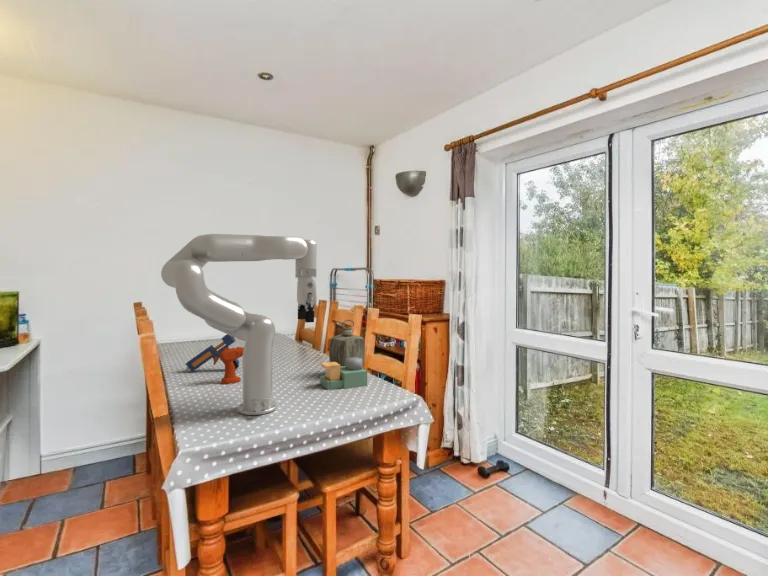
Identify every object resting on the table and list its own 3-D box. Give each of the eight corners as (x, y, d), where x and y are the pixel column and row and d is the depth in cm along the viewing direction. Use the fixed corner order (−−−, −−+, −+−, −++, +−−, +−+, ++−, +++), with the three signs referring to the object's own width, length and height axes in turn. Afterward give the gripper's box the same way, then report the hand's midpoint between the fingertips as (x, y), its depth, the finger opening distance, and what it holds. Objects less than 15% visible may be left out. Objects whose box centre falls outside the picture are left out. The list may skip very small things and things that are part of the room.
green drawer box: (367, 385, 163) (367, 361, 163) (329, 390, 156) (329, 365, 156) (355, 378, 174) (356, 355, 174) (319, 382, 167) (319, 358, 166)
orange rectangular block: (340, 386, 161) (340, 364, 161) (325, 388, 158) (325, 366, 158) (334, 383, 167) (335, 361, 166) (321, 384, 164) (321, 363, 163)
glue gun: (201, 392, 185) (180, 367, 182) (257, 350, 192) (237, 326, 189) (198, 395, 179) (177, 369, 176) (257, 352, 186) (237, 327, 183)
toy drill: (267, 374, 174) (263, 340, 172) (223, 387, 162) (218, 351, 160) (263, 371, 177) (259, 339, 175) (219, 384, 165) (215, 349, 164)
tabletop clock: (353, 370, 188) (353, 317, 187) (366, 374, 182) (367, 319, 181) (328, 376, 178) (329, 320, 176) (342, 380, 171) (342, 322, 170)
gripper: (323, 274, 140) (323, 323, 140) (309, 273, 155) (308, 317, 156) (302, 274, 136) (302, 324, 137) (289, 273, 152) (289, 318, 152)
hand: (305, 320), depth 146 cm, fingers open, 9 cm apart
